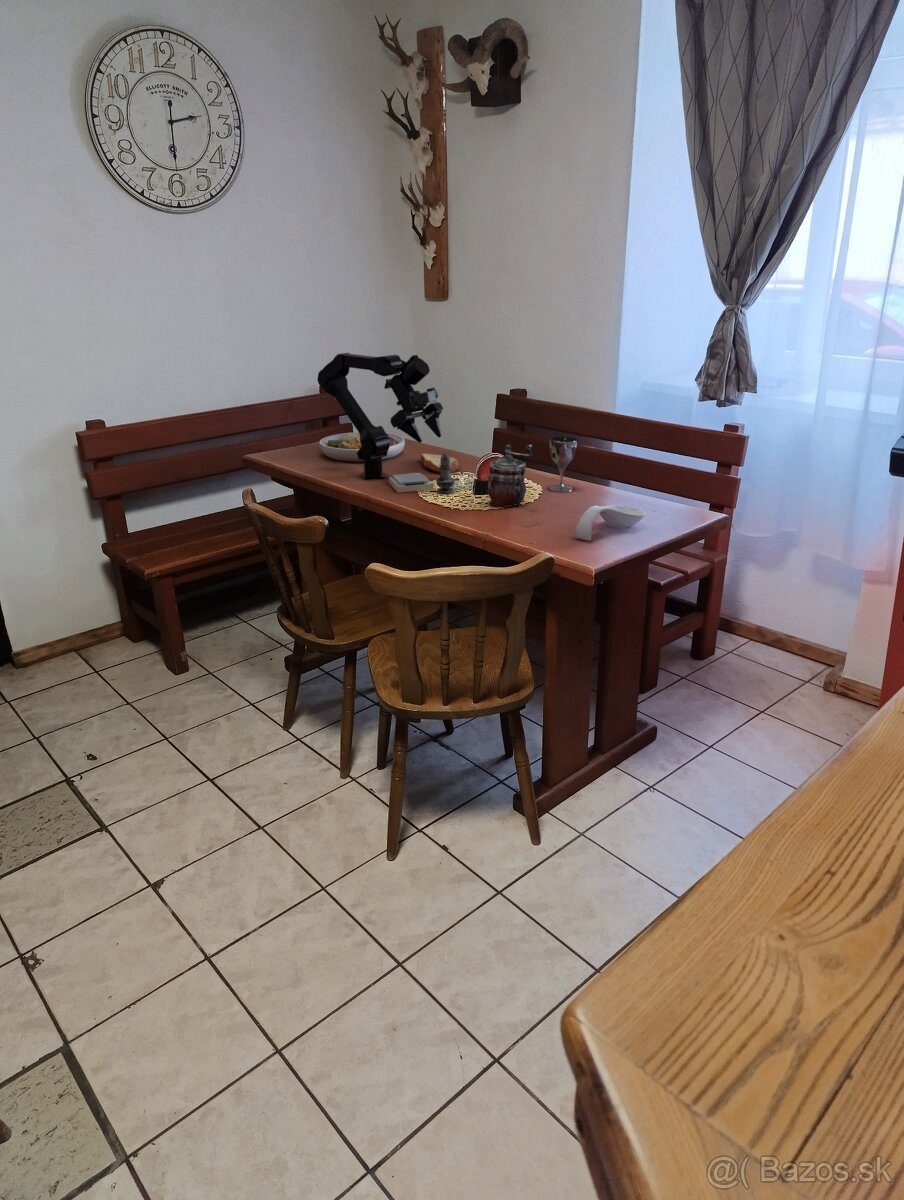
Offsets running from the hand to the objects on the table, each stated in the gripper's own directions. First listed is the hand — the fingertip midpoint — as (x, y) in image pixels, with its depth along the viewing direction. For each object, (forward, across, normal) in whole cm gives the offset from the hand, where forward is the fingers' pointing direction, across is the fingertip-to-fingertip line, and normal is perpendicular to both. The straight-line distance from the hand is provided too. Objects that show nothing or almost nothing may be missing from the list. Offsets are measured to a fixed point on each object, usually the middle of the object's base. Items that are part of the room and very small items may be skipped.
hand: (430, 439), depth 241 cm
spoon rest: (+49, -6, -41) cm, 64 cm away
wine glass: (+31, +22, -17) cm, 42 cm away
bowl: (-17, +22, +48) cm, 55 cm away
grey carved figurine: (+16, -1, +4) cm, 16 cm away
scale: (+8, -2, +14) cm, 16 cm away
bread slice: (+3, +23, +22) cm, 31 cm away
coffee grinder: (+30, 0, -15) cm, 33 cm away
